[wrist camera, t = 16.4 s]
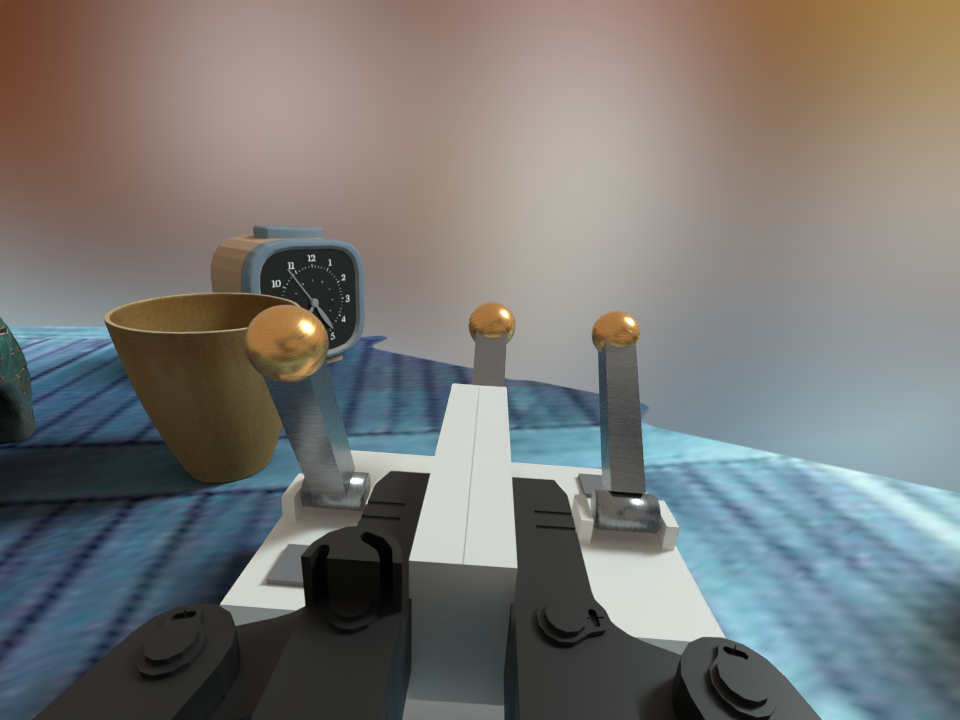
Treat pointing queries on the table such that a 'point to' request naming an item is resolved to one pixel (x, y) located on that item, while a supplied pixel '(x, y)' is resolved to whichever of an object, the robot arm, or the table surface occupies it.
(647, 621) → the switch box
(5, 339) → the ceramic cat
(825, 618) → the table surface
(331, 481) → the lever
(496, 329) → the lever middle
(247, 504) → the table surface
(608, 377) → the lever
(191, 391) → the plant pot
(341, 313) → the alarm clock
